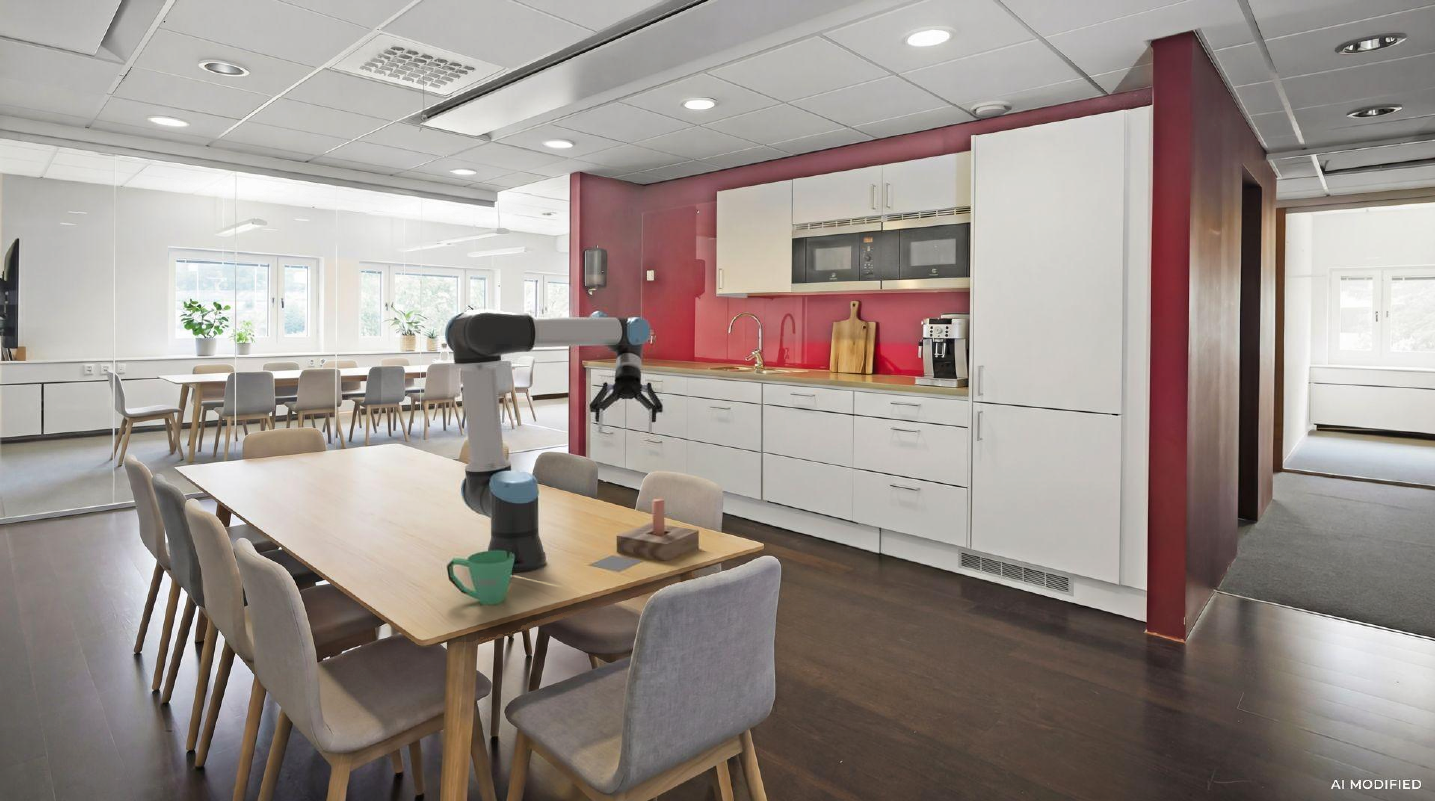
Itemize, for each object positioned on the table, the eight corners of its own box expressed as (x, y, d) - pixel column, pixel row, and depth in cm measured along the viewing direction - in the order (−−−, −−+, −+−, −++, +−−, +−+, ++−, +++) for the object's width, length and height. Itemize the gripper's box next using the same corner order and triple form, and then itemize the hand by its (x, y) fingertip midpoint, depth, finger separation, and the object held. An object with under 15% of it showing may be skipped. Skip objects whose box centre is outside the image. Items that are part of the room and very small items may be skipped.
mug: (520, 593, 168) (519, 550, 167) (507, 609, 159) (506, 563, 158) (455, 593, 168) (454, 549, 168) (439, 608, 159) (438, 563, 158)
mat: (587, 566, 188) (587, 564, 188) (612, 556, 197) (612, 555, 197) (619, 573, 183) (619, 571, 183) (643, 563, 192) (643, 561, 192)
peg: (650, 551, 202) (650, 500, 201) (657, 548, 205) (656, 498, 204) (660, 553, 200) (659, 502, 199) (666, 550, 203) (666, 499, 202)
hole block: (616, 553, 200) (616, 535, 199) (651, 539, 214) (651, 522, 213) (665, 563, 192) (665, 544, 191) (698, 548, 205) (698, 530, 205)
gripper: (671, 381, 220) (670, 438, 207) (586, 381, 219) (580, 438, 205) (671, 364, 215) (670, 421, 201) (583, 363, 213) (577, 421, 199)
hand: (625, 430), depth 203 cm, fingers open, 13 cm apart
